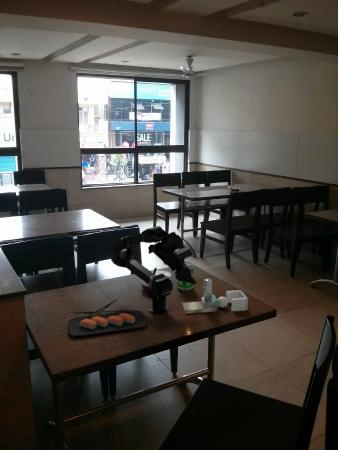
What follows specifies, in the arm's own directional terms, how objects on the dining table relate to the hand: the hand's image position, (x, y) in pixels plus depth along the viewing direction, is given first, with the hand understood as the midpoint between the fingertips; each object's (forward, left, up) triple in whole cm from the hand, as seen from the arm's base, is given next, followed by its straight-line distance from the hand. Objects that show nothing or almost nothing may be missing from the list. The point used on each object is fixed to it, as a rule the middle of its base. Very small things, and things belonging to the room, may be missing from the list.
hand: (193, 279), depth 165 cm
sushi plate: (-21, +29, -14) cm, 38 cm away
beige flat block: (+1, -2, -13) cm, 13 cm away
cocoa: (+9, +26, -13) cm, 31 cm away
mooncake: (+23, +28, -14) cm, 39 cm away
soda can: (+19, +12, -13) cm, 26 cm away
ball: (+7, -10, -11) cm, 16 cm away
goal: (+10, -15, -13) cm, 22 cm away
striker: (+4, -5, -11) cm, 13 cm away
